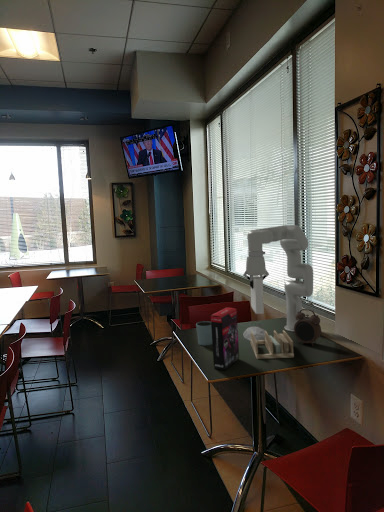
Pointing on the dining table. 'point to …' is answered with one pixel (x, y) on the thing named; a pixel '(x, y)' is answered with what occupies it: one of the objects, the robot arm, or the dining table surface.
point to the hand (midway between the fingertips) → (256, 287)
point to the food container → (254, 333)
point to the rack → (269, 346)
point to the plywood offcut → (284, 344)
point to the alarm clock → (307, 327)
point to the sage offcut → (275, 346)
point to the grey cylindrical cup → (204, 333)
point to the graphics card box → (225, 338)
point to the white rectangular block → (257, 295)
